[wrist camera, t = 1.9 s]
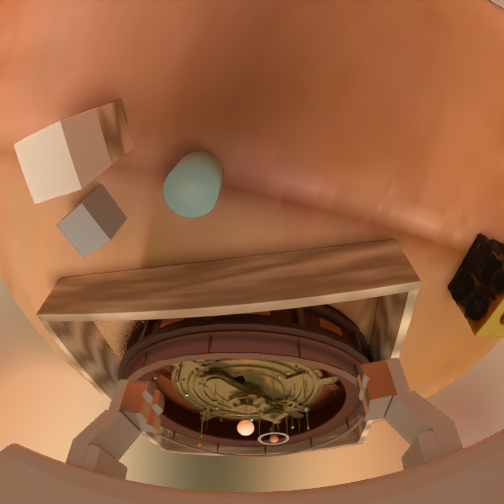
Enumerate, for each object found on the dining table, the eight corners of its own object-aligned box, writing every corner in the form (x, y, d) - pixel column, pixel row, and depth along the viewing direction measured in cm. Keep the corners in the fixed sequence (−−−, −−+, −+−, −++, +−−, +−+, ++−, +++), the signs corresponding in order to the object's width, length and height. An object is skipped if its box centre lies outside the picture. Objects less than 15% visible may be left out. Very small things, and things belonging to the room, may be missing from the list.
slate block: (77, 205, 32) (56, 225, 28) (102, 184, 31) (81, 203, 26) (100, 235, 34) (83, 258, 30) (127, 217, 33) (110, 240, 29)
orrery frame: (61, 277, 39) (36, 314, 32) (394, 239, 34) (420, 280, 27) (168, 424, 65) (163, 451, 59) (357, 414, 60) (362, 443, 54)
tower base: (79, 115, 26) (50, 127, 21) (121, 99, 25) (95, 107, 21) (92, 160, 29) (66, 178, 24) (134, 148, 28) (112, 164, 24)
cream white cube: (50, 127, 21) (13, 144, 17) (95, 107, 21) (60, 120, 16) (66, 178, 24) (35, 204, 20) (112, 164, 24) (82, 189, 19)
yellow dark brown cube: (478, 231, 33) (517, 276, 24) (512, 246, 34) (546, 286, 26) (444, 288, 38) (472, 336, 30) (481, 295, 39) (508, 338, 31)
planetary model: (249, 208, 33) (244, 277, 23) (400, 371, 51) (415, 422, 41) (82, 347, 49) (60, 397, 39) (241, 433, 67) (239, 474, 58)
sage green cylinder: (171, 155, 29) (156, 171, 25) (218, 146, 28) (211, 161, 24) (182, 199, 32) (171, 221, 28) (227, 192, 31) (222, 213, 27)
